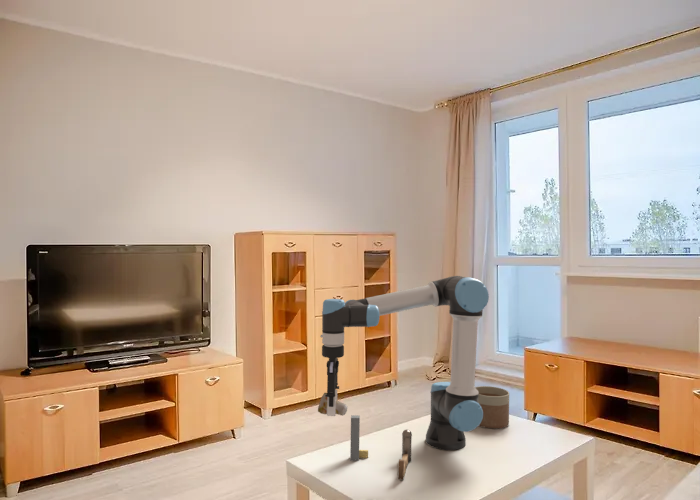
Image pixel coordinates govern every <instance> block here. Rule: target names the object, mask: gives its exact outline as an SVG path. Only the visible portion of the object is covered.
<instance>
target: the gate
mask: <svg viewBox="0 0 700 500" xmlns="http://www.w3.org/2000/svg"><path fill="white" fill-rule="evenodd" d="M408 464H409V463H408V454H403V457H402V456H401V458H398V472H397V473H398V480H400V481H403V480H404V479H405V475H406V471H407V468H408Z"/></svg>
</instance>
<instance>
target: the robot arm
mask: <svg viewBox="0 0 700 500" xmlns="http://www.w3.org/2000/svg"><path fill="white" fill-rule="evenodd" d="M489 295H490V294H489V290H488V288H487V286H486V285H485V283H483V282H482V281H481V280H479V279H478V278H477V279H476V278H474V277H470V276H469V277H468V276H461V275H453V276H448V277H445V278H441V279H437V280H433V281H429V282H428V284H427V285H422V286H417V287H412V288H409V289H403V290H400V291H399V290H398V291H393V292H389V293H385V294H384V293H383V294H380V295H374V296H370V297H369V296H368V297H365V298H361V299H348V300H346V301H345V300H344V299H340V298H327V299H325V300H324V301H323V302H322V311H321V312H322V313H321V315H322V316H321V317H322V318H321V320H322V321H321V323H322V328H321V330H322V334H320V338H322V339H321V340H322V342H321V343H322V346H321V356H322V357H323V358H327V359H328V360H327V362H326V375H327V377H326V378H327V382H326V384H327V385H326V386H327V387H326V388H327V389H326V390H327V391H326V393H327V395H325V397H327V414H326V416H327V417H335V416H336V414H335V408H336V399H337V400H338V390H340V386H339V383H338V377H339V376H338V373H339V366H340V365H339V364H340V361H339V359H340V358H343V357H344V355H345V346H344V344H345V328H362V327H363V328H370V327H376V326H378V324H380V323H379V322H380V316H385V315H390V314H395V313H399V312H403V311H409V310H414V309H418V308H422V307H428V306H433V307H440V306H441V307H442V306H449V310H448V311H449V316H451V318H452V337H451V340H452V342H451V362H450V365H451V366H450V381H439V382H435V383H434V382H433V383H432V384H431V386H430V421H429V422H430V423H429V425H428V428H427V430H426V434H425V443H426V445H428V446H430V447H432V448H435V449H439V450H444V451H448V450H449V451H450V450H451V451H455V450H461V449H463V448H465V446H466V443H467V442H466V439H467V438H466V435H465V433H466V432H471V431H475V430H476V429H477V427H480V426H479V425H480V423H481V421H482V419H483V410H482V408H481V406H480V404H479V403H478V396H479V392H478V390H477V389H476V388H475V387H476V386H475V385H476V384H475V383H476V381H475V380H476V364H477V363H476V362H477V341H478V325H479V323H478V321H479V320H480V319H481V318H482V317H483V310H484V309H485V308H486V306H487V305H488V303H489V300H490V299H489V298H490V296H489Z"/></svg>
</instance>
